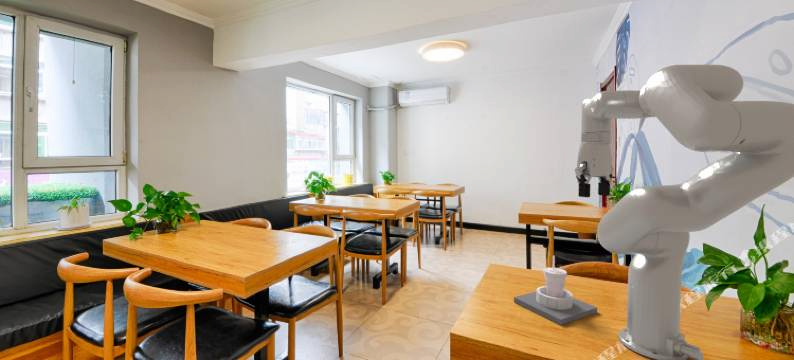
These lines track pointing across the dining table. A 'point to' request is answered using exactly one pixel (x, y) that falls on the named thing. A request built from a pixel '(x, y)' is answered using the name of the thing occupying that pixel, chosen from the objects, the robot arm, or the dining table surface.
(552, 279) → the smoothie
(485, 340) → the dining table surface
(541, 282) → the dining table surface
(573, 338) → the dining table surface
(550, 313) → the duct collar
